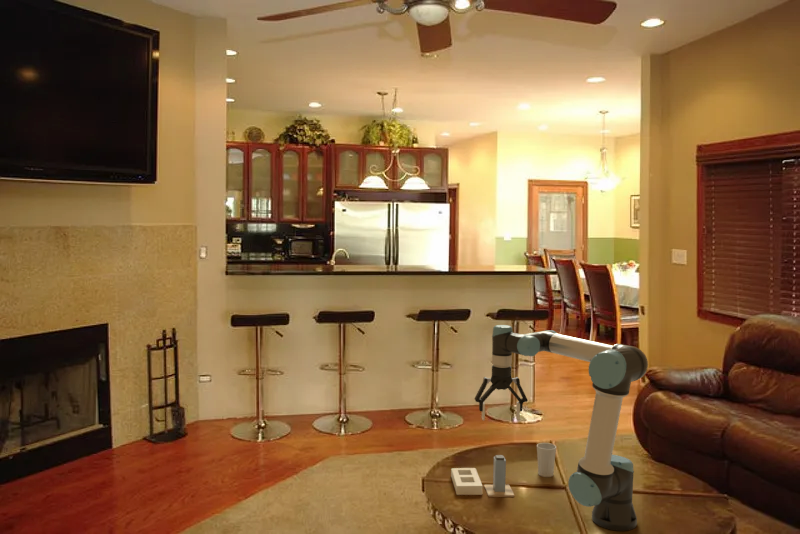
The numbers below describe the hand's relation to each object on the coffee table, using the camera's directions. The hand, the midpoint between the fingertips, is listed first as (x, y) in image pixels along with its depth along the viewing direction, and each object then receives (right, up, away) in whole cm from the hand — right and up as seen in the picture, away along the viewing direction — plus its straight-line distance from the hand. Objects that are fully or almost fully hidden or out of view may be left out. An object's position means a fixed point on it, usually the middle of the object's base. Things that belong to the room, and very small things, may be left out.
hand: (500, 419), depth 253 cm
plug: (0, -28, +2) cm, 28 cm away
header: (-12, -28, +8) cm, 32 cm away
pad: (0, -29, +2) cm, 29 cm away
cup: (+22, -28, +20) cm, 41 cm away
